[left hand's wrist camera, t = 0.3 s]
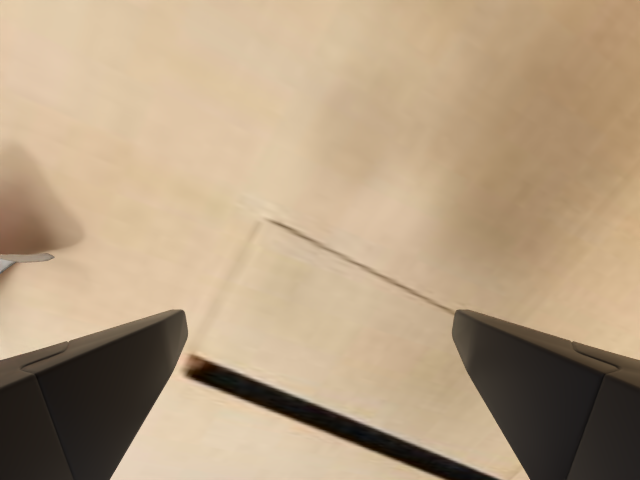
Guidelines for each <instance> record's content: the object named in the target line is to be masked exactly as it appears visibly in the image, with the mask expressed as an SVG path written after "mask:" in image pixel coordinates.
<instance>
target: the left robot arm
mask: <svg viewBox="0 0 640 480" xmlns="http://www.w3.org/2000/svg"><path fill="white" fill-rule="evenodd" d="M187 337H188V328H187V322H186V316H185V312H184V311H183V310H169V311H166V312H162V313H159V314H156V315H152V316H149V317H146V318H143V319H139V320H136V321H133V322H130V323H126V324H123V325H120V326H116V327H113V328H110V329H107V330H103V331H100V332H97V333H94V334H90V335H87V336H84V337H80V338H77V339H74V340H71V341H69V342H67V341H66V342H63V343H59V344H56V345H53V346H49V347H46V348H42V349H39V350H36V351H32V352H29V353H25V354H22V355H18V356H14V357H11V358H7V359H3V360H0V480H110V478H111V477H112V475H113V473H114V472H115V470H116V468H117V466H118V465H119V463H120V461H121V460H122V458H123V456H124V454H125V453H126V451H127V449H128V448H129V446H130V444H131V443H132V441H133V439H134V437H135V436H136V434H137V432H138V431H139V429H140V427H141V426H142V424H143V422H144V420H145V419H146V417H147V415H148V414H149V412H150V410H151V409H152V407H153V405H154V403H155V402H156V400H157V398H158V397H159V395H160V393H161V391H162V390H163V388H164V386H165V385H166V383H167V381H168V380H169V378H170V376H171V374H172V372H173V370H174V368H175V366H176V364H177V361H178V359H179V357H180V354H181V352H182V350H183V347H184V345H185V343H186V340H187ZM452 337H453V340H454V343H455V345H456V347H457V350H458V352H459V354H460V357H461V359H462V361H463V364H464V366H465V368H466V370H467V372H468V374H469V376H470V378H471V380H472V381H473V383H474V385H475V386H476V388H477V390H478V391H479V393H480V395H481V397H482V398H483V400H484V402H485V403H486V405H487V407H488V409H489V410H490V412H491V414H492V415H493V417H494V419H495V420H496V422H497V424H498V426H499V427H500V429H501V431H502V432H503V434H504V436H505V437H506V439H507V441H508V443H509V444H510V446H511V448H512V449H513V451H514V453H515V454H516V456H517V458H518V460H519V461H520V463H521V465H522V466H523V468H524V470H525V471H526V473H527V475H528V477H529V478H530V480H640V360H637V359H633V358H629V357H626V356H622V355H619V354H615V353H611V352H608V351H604V350H601V349H598V348H594V347H591V346H587V345H584V344H581V343H577V342H574V341H573V342H571V341H569V340H566V339H563V338H560V337H556V336H553V335H550V334H546V333H543V332H540V331H537V330H533V329H530V328H527V327H524V326H520V325H517V324H514V323H510V322H507V321H504V320H501V319H497V318H494V317H491V316H488V315H484V314H481V313H478V312H474V311H471V310H457V311H456V312H455V316H454V322H453V328H452Z"/></svg>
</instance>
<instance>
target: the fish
mask: <svg viewBox="0 0 640 480" xmlns="http://www.w3.org/2000/svg"><path fill="white" fill-rule="evenodd" d="M52 258H54V256H52V255H50V254H47V253H43V254H0V274H1V273H2V272H3V271H4V270H6V269H7V268H8V267H10V266H11V265H13V264H14V263H15V262H20V263H22V262H40V261H48V260H50V259H52Z"/></svg>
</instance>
